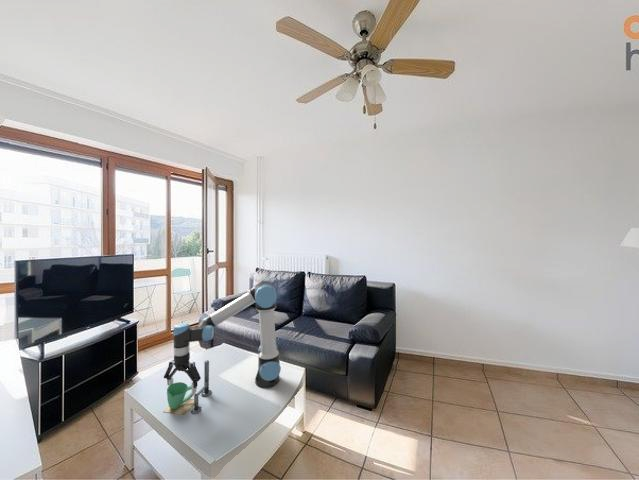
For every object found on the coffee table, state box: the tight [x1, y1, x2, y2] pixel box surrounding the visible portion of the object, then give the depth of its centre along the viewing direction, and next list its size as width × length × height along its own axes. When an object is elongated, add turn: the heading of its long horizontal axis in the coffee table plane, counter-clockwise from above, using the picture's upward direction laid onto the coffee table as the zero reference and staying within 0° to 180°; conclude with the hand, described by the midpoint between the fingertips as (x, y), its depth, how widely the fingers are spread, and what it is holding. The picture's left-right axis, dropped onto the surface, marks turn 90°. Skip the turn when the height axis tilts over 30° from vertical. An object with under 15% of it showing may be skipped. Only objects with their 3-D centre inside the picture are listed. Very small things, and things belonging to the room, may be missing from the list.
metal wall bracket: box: [190, 360, 213, 415], centre depth 143 cm, size 8×19×19 cm, turn 171°
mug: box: [166, 381, 198, 409], centre depth 140 cm, size 15×10×10 cm
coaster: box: [163, 397, 194, 416], centre depth 140 cm, size 12×12×1 cm
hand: (182, 392), depth 140 cm, fingers open, 13 cm apart
